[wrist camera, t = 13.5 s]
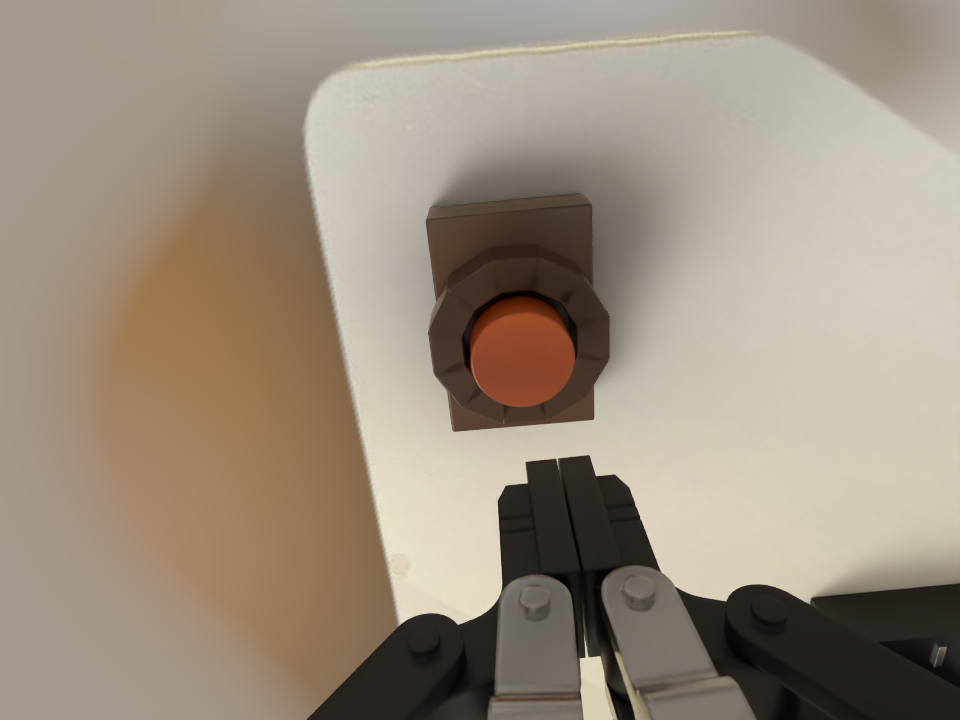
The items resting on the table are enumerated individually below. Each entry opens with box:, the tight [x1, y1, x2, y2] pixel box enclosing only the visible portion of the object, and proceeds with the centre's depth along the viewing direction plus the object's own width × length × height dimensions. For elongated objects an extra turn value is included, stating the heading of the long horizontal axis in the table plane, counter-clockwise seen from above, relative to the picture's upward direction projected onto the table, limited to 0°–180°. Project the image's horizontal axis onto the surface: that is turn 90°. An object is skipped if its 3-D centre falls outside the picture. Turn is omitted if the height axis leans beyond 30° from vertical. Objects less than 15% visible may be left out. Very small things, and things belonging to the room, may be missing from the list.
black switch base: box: [811, 584, 960, 688], centre depth 34 cm, size 12×11×3 cm
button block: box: [426, 194, 610, 432], centre depth 24 cm, size 9×6×4 cm
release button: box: [470, 296, 575, 407], centre depth 22 cm, size 4×4×2 cm
